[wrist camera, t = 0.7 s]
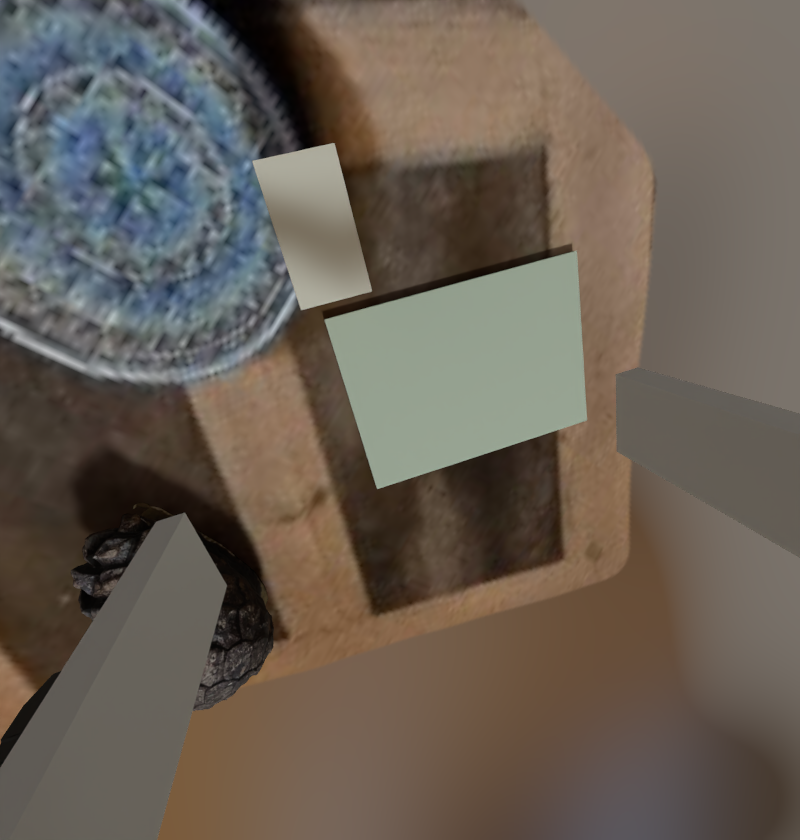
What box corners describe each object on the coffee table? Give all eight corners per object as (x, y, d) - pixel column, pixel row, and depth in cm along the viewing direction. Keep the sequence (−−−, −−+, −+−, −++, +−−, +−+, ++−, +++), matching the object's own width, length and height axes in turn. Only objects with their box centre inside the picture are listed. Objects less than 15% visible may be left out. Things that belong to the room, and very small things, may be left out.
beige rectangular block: (273, 203, 27) (252, 161, 18) (328, 190, 28) (334, 142, 18) (305, 302, 30) (301, 310, 21) (354, 289, 30) (372, 291, 21)
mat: (324, 319, 30) (324, 319, 30) (572, 251, 33) (576, 250, 32) (376, 486, 36) (377, 489, 36) (583, 418, 39) (586, 420, 38)
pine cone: (145, 478, 32) (76, 557, 22) (299, 588, 38) (294, 683, 29) (58, 556, 32) (-44, 664, 23) (225, 651, 39) (197, 764, 30)
